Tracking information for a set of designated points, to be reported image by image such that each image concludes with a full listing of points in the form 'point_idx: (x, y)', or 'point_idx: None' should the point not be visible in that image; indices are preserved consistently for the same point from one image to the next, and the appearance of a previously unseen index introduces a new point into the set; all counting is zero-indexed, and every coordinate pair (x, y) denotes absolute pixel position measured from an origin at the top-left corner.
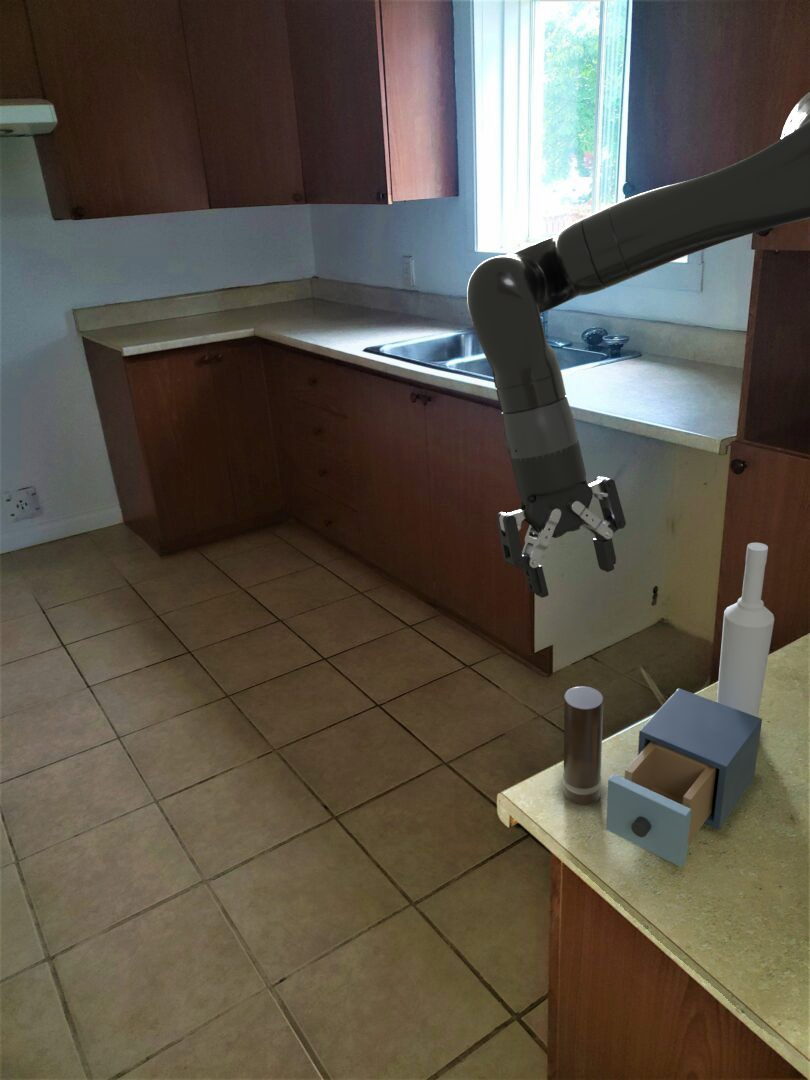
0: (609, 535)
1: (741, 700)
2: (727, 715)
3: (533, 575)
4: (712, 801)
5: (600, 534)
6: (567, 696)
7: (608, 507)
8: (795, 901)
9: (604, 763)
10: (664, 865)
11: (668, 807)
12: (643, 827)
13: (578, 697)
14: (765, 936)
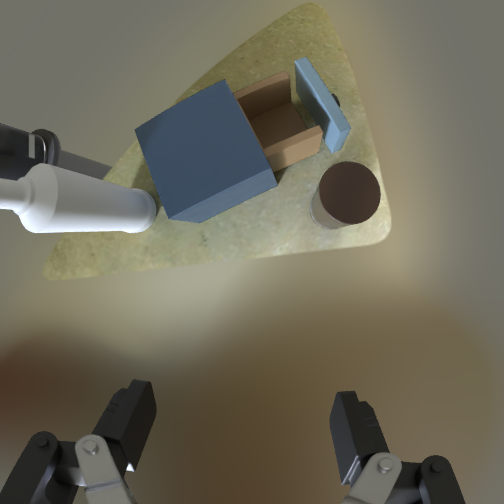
0: (91, 441)
1: (120, 187)
2: (158, 147)
3: (376, 440)
4: None
5: (113, 461)
6: (372, 207)
7: (44, 502)
8: (243, 46)
9: (280, 236)
10: None
11: (314, 70)
12: (333, 94)
13: (357, 197)
14: (284, 35)
